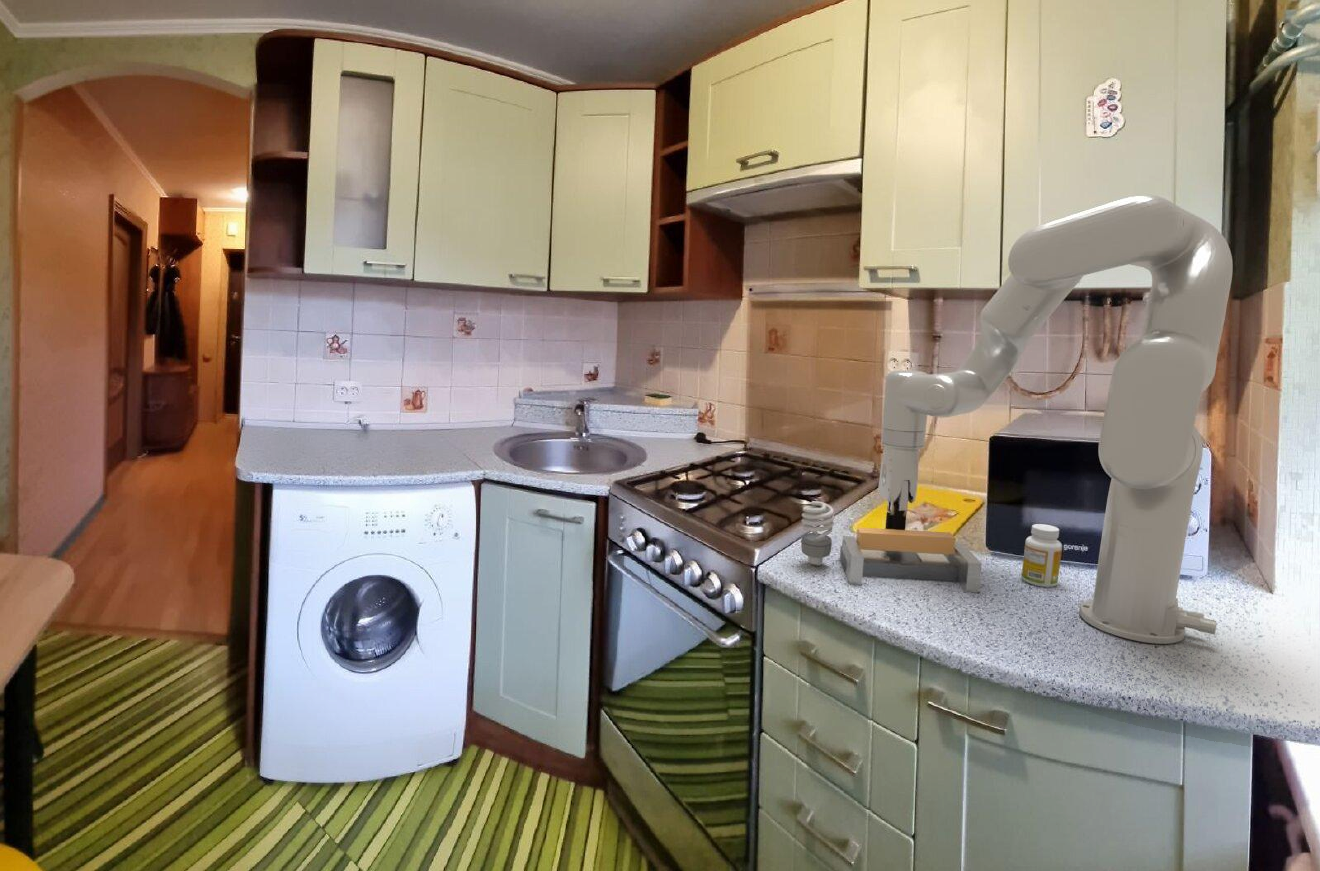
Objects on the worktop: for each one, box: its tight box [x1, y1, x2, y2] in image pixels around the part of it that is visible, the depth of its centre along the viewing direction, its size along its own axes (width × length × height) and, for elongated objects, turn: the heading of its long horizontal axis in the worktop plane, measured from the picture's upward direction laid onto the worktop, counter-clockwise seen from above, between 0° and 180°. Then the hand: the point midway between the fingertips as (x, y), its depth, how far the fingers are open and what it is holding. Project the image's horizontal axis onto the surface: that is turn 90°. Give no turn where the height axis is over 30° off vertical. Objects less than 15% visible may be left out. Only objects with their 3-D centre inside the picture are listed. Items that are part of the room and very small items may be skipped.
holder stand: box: [839, 535, 983, 593], centre depth 112 cm, size 21×12×5 cm, turn 82°
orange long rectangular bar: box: [855, 527, 956, 554], centre depth 114 cm, size 16×3×3 cm, turn 82°
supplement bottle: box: [1021, 523, 1063, 588], centre depth 110 cm, size 5×5×10 cm
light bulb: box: [800, 500, 835, 567], centre depth 115 cm, size 6×6×12 cm
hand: (894, 534), depth 121 cm, fingers closed
